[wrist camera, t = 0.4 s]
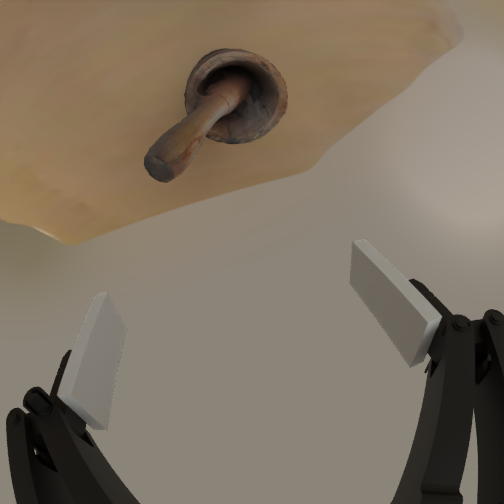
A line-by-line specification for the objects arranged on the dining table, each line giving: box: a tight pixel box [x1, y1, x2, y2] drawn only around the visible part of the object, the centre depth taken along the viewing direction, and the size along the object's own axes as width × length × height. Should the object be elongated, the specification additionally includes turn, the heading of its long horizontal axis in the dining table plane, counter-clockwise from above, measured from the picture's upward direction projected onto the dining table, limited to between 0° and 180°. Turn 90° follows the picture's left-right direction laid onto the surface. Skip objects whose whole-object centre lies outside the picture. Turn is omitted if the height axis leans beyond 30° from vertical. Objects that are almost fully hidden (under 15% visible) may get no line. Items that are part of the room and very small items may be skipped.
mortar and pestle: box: [144, 49, 288, 183], centre depth 23 cm, size 12×9×20 cm
